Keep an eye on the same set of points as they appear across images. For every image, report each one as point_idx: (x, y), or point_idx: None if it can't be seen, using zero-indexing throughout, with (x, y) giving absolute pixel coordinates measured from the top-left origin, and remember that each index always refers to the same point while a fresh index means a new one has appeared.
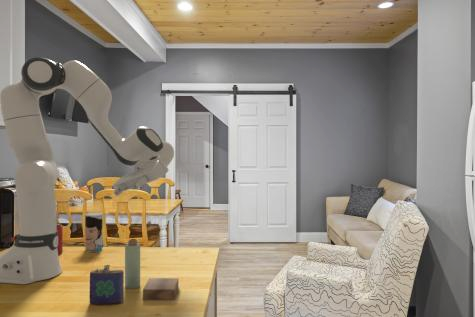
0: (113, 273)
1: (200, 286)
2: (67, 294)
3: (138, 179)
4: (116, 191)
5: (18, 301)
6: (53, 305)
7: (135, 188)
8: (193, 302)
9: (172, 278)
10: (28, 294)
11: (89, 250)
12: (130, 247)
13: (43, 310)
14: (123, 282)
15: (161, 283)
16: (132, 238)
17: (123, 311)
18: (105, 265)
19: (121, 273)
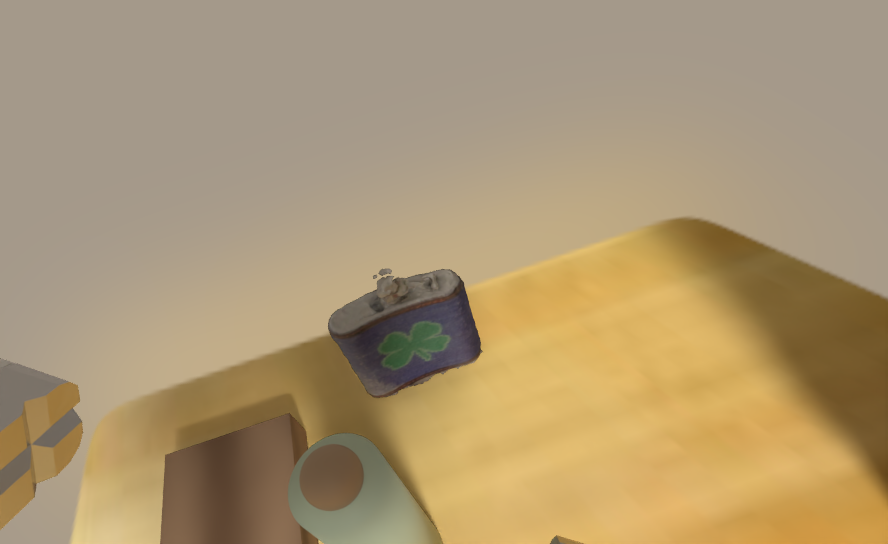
0: (358, 298)
1: None
2: (624, 374)
3: None
4: (556, 536)
5: (739, 270)
6: (588, 291)
7: (75, 431)
8: (117, 474)
9: None
10: (776, 322)
11: None
12: (334, 437)
13: (587, 258)
14: (344, 354)
15: (228, 498)
16: (322, 465)
17: None
18: (388, 277)
19: (331, 317)
